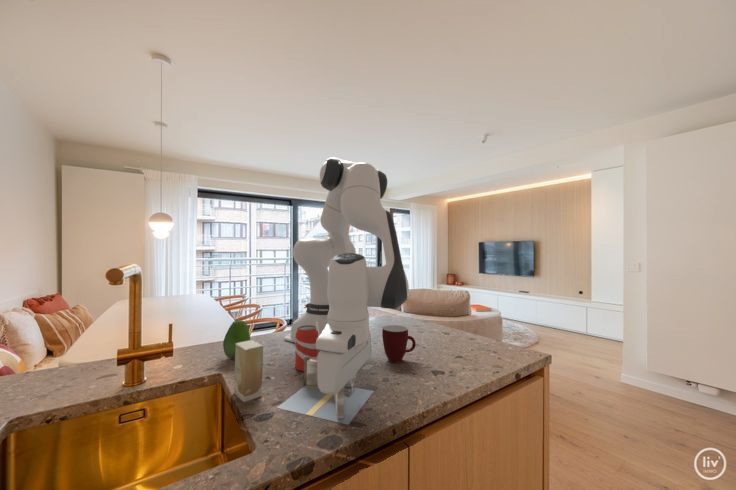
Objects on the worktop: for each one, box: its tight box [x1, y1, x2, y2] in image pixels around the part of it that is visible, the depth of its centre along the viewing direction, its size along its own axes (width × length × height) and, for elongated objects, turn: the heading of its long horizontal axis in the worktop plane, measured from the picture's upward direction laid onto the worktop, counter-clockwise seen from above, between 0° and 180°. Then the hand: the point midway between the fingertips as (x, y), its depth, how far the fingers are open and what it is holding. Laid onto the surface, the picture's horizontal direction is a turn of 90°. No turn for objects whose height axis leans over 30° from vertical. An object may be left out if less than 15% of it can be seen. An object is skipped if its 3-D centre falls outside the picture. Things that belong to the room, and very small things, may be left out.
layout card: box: [276, 385, 374, 426], centre depth 69 cm, size 17×15×1 cm
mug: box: [381, 324, 417, 363], centre depth 95 cm, size 11×8×10 cm
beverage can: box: [294, 325, 319, 372], centre depth 87 cm, size 6×6×12 cm
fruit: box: [222, 319, 251, 361], centre depth 95 cm, size 8×8×12 cm
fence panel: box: [334, 387, 344, 418], centre depth 66 cm, size 12×1×6 cm, turn 11°
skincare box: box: [233, 339, 264, 403], centre depth 71 cm, size 6×4×12 cm
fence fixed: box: [303, 356, 318, 387], centre depth 75 cm, size 9×1×7 cm, turn 69°
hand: (348, 394), depth 64 cm, fingers closed
